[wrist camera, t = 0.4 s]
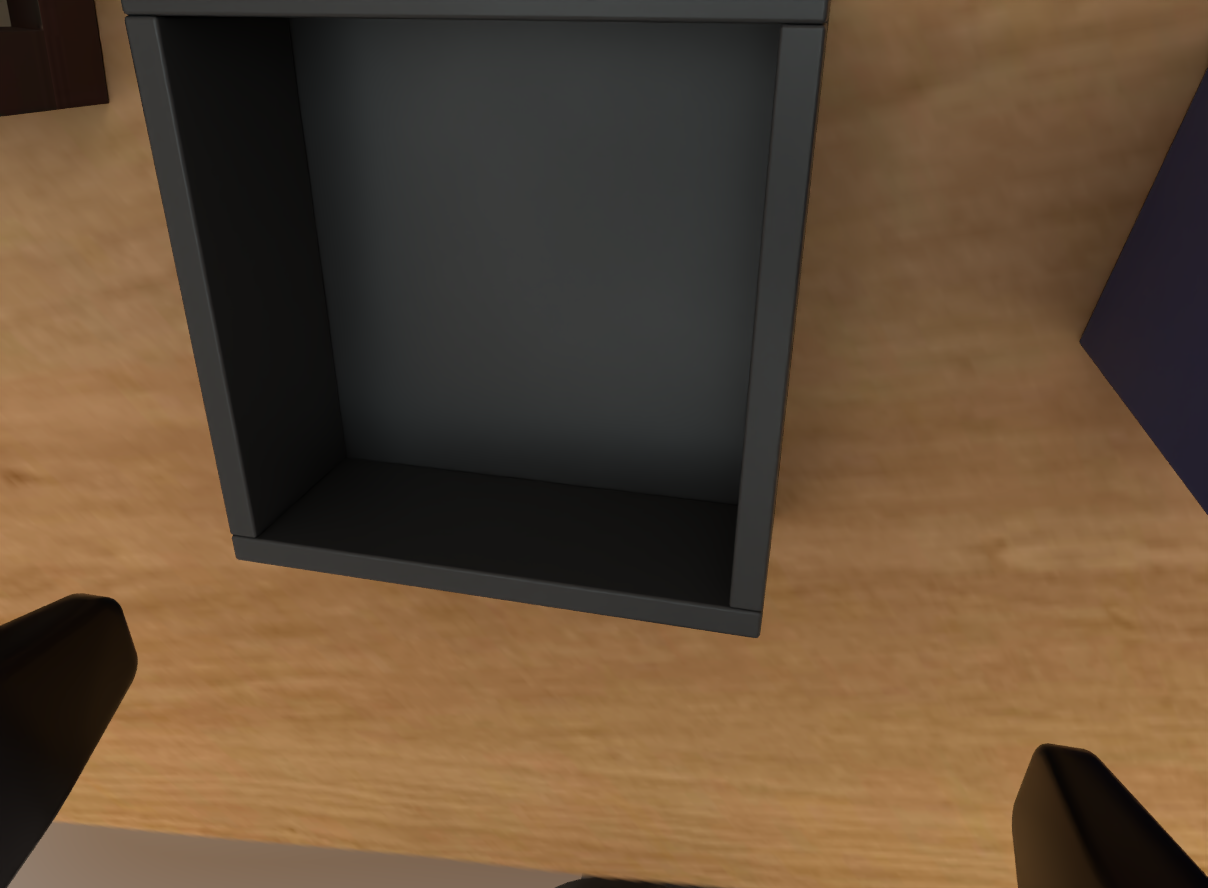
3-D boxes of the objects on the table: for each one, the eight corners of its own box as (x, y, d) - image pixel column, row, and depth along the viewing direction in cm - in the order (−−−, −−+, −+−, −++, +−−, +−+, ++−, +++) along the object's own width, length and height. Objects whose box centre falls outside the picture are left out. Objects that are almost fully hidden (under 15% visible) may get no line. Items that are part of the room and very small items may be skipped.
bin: (773, 520, 23) (759, 640, 19) (338, 466, 25) (234, 560, 21) (832, -18, 17) (832, -28, 13) (270, -20, 20) (112, -29, 16)
